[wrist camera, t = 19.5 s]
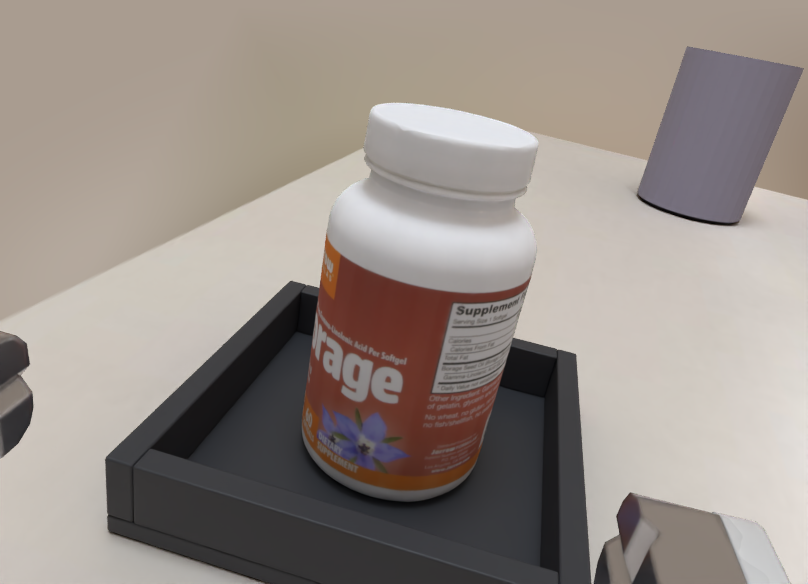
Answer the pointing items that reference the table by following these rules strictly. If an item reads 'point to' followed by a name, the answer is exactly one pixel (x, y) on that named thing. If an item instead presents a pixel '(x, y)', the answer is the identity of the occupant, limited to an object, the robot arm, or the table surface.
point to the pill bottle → (418, 301)
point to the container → (716, 134)
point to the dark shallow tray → (337, 504)
